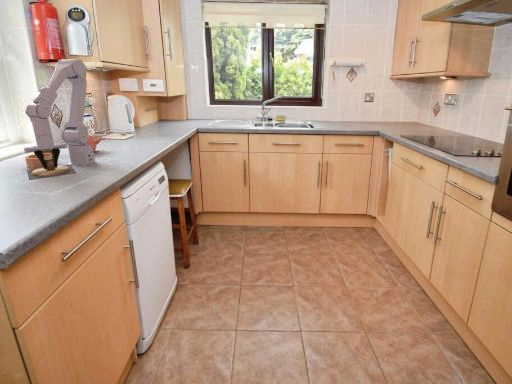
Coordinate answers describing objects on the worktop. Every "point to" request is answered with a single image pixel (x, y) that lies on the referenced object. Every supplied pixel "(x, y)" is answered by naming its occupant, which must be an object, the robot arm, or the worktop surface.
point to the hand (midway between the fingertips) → (50, 168)
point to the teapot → (93, 141)
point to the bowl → (36, 160)
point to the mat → (32, 177)
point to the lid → (50, 169)
